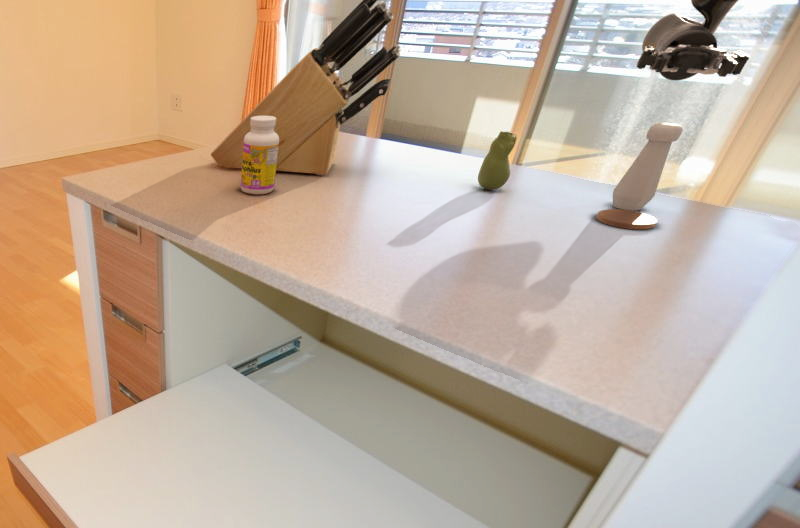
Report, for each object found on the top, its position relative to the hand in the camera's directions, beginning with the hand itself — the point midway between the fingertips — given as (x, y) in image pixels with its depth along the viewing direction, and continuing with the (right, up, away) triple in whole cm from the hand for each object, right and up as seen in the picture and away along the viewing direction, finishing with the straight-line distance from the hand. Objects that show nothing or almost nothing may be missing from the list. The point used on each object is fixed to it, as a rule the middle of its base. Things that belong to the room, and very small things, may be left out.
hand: (694, 67), depth 88 cm
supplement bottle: (-68, -12, +19) cm, 72 cm away
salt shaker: (-5, -20, +7) cm, 22 cm away
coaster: (-11, -25, +1) cm, 27 cm away
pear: (-23, -13, +17) cm, 32 cm away
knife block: (-58, -1, +33) cm, 66 cm away
